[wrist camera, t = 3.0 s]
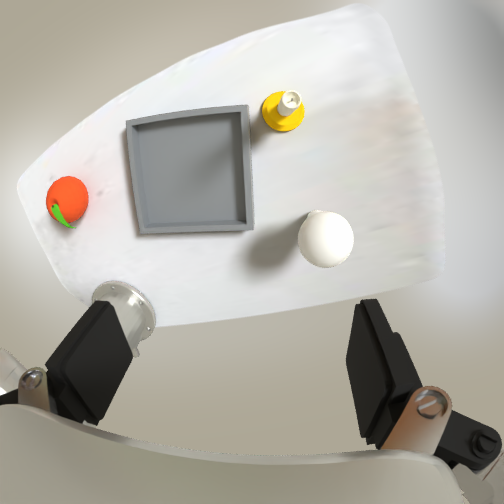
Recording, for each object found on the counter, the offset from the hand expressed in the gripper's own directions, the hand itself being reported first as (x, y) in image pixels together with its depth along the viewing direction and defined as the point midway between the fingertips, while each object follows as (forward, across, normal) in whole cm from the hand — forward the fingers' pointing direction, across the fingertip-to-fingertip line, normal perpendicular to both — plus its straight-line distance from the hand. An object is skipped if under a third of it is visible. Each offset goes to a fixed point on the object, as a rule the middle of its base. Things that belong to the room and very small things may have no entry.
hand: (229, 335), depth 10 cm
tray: (+29, +9, -2) cm, 30 cm away
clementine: (+29, +28, -1) cm, 40 cm away
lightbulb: (+29, -7, +5) cm, 30 cm away
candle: (+29, -3, -9) cm, 31 cm away
